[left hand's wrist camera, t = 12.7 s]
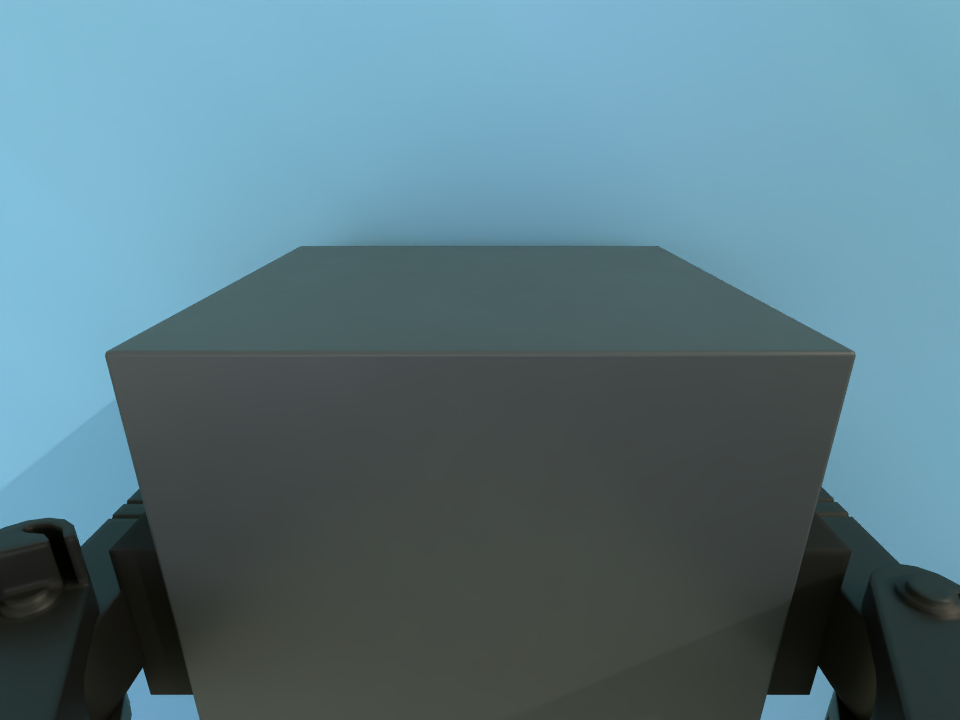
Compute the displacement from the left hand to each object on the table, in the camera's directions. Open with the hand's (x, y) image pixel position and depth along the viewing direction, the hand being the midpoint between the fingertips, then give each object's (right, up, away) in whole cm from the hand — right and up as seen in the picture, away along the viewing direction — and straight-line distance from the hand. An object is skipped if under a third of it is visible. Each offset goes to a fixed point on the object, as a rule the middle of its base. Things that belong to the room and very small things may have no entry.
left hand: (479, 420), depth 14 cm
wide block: (0, -30, +12) cm, 33 cm away
